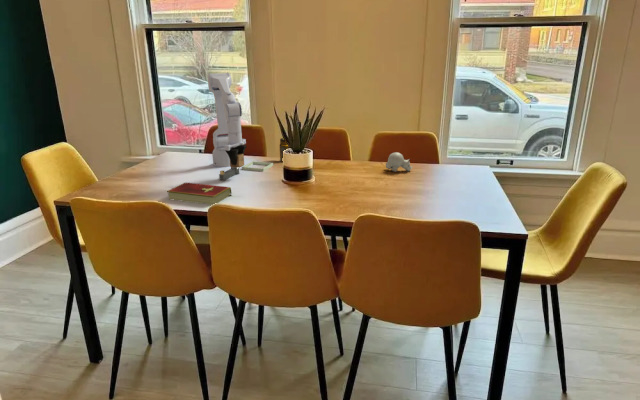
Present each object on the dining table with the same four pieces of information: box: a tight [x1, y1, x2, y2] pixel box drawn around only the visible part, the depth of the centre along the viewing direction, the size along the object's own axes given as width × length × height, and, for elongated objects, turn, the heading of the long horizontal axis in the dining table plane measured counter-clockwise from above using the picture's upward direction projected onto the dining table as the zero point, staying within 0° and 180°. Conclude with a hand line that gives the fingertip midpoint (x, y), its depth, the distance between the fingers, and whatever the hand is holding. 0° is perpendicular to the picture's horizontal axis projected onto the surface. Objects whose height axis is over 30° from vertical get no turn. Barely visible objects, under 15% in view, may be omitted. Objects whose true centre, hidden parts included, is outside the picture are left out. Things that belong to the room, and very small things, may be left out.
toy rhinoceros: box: [385, 151, 414, 173], centre depth 199 cm, size 7×12×8 cm, turn 80°
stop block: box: [230, 153, 245, 169], centre depth 188 cm, size 4×4×5 cm
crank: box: [218, 167, 240, 182], centre depth 192 cm, size 13×4×4 cm, turn 160°
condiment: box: [279, 137, 288, 162], centre depth 216 cm, size 7×8×12 cm
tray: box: [241, 161, 274, 172], centre depth 206 cm, size 11×11×2 cm
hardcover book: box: [166, 182, 232, 205], centre depth 168 cm, size 12×21×4 cm, turn 70°
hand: (237, 163), depth 188 cm, fingers closed on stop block, 4 cm apart
